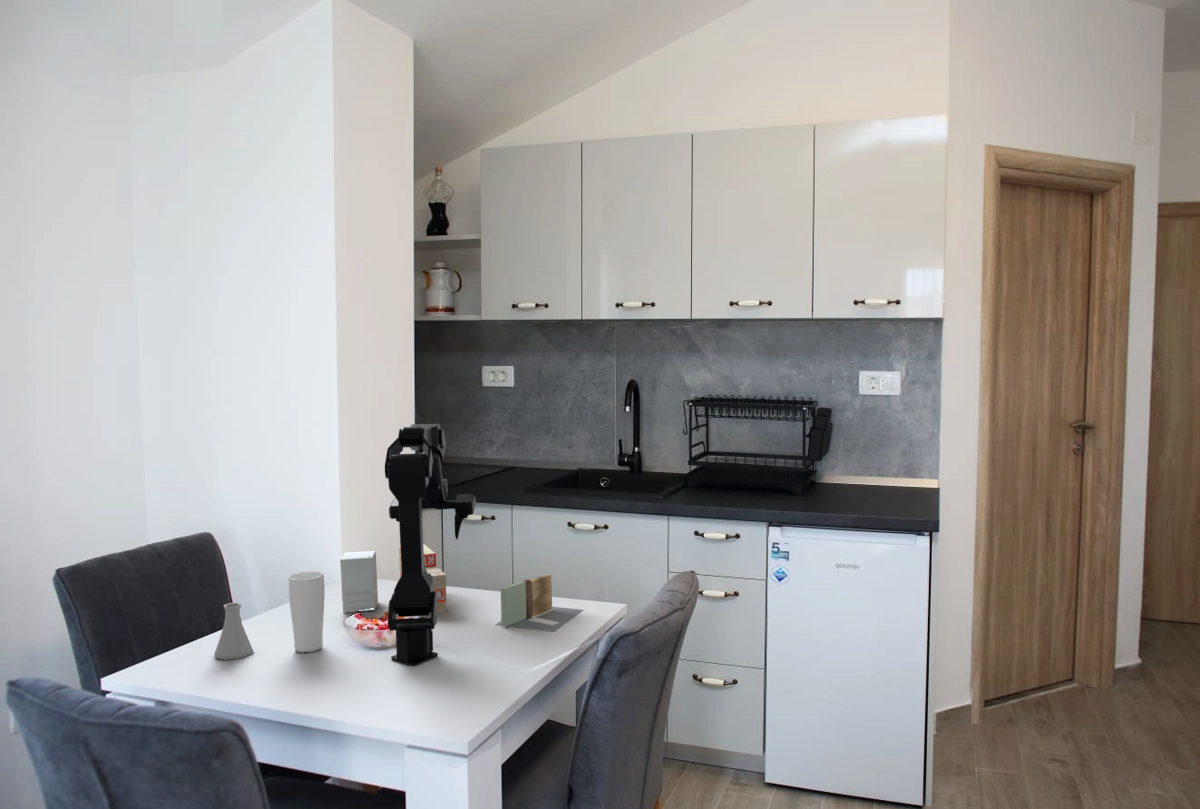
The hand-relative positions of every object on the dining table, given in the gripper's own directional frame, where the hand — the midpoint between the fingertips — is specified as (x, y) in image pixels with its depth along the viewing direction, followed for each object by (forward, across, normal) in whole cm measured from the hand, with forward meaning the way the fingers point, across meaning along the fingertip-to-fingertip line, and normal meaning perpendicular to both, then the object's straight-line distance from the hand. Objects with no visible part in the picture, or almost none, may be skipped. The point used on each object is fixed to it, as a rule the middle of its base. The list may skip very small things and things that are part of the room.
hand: (437, 539), depth 194 cm
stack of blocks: (+17, +5, 0) cm, 18 cm away
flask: (+7, +36, +31) cm, 48 cm away
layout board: (+14, -23, +13) cm, 30 cm away
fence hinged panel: (+12, -18, +17) cm, 27 cm away
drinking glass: (+8, +22, +29) cm, 37 cm away
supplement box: (+16, +19, +2) cm, 25 cm away
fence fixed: (+14, -23, +10) cm, 29 cm away
